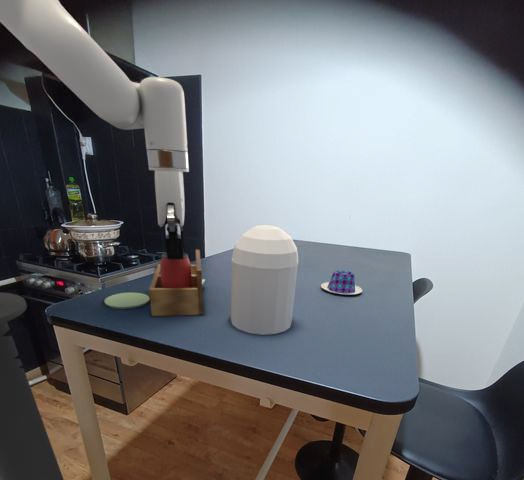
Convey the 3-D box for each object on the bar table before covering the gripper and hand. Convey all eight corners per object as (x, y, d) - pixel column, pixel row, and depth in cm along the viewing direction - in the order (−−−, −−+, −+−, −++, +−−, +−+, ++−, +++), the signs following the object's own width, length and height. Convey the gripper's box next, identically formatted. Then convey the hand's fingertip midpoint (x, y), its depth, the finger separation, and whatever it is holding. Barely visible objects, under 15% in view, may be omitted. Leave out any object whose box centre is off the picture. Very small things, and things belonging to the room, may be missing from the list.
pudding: (358, 285, 98) (361, 268, 96) (365, 298, 88) (369, 280, 85) (319, 282, 99) (321, 265, 96) (321, 294, 88) (324, 276, 86)
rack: (151, 316, 69) (146, 270, 64) (160, 286, 87) (156, 248, 82) (203, 314, 71) (201, 270, 66) (200, 286, 89) (199, 249, 84)
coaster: (100, 309, 71) (99, 307, 70) (109, 294, 79) (109, 292, 79) (147, 308, 73) (146, 306, 72) (151, 294, 81) (151, 292, 81)
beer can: (198, 306, 76) (196, 255, 70) (177, 313, 71) (173, 259, 65) (179, 299, 79) (175, 250, 73) (158, 306, 74) (152, 254, 68)
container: (299, 317, 73) (310, 225, 64) (280, 340, 62) (290, 233, 53) (246, 306, 77) (249, 218, 68) (219, 326, 66) (218, 224, 57)
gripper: (152, 162, 67) (161, 245, 76) (141, 160, 53) (154, 263, 61) (188, 164, 69) (193, 245, 77) (188, 162, 54) (194, 263, 62)
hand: (176, 253), depth 69 cm, fingers open, 9 cm apart
